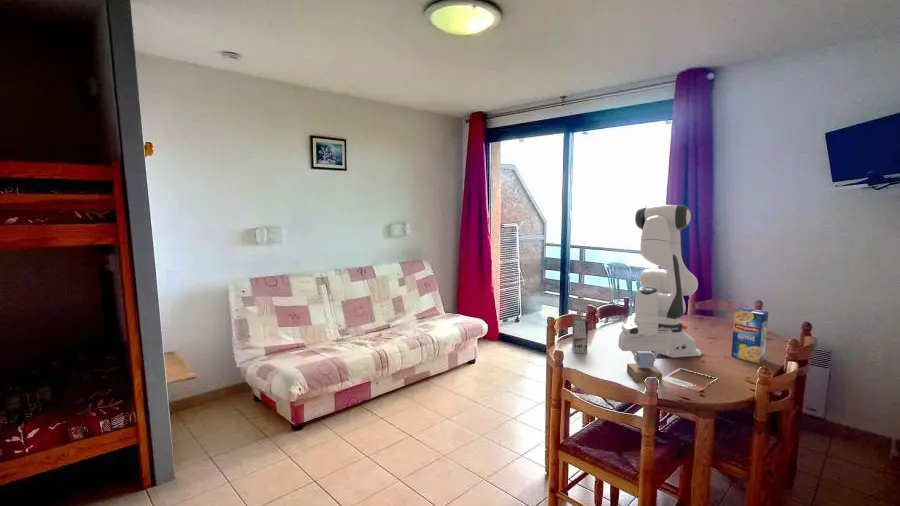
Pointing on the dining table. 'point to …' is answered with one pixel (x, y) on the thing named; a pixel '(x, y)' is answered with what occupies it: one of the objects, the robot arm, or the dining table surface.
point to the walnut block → (643, 373)
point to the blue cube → (645, 358)
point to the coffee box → (580, 334)
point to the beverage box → (749, 334)
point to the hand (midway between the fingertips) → (644, 360)
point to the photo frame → (680, 382)
